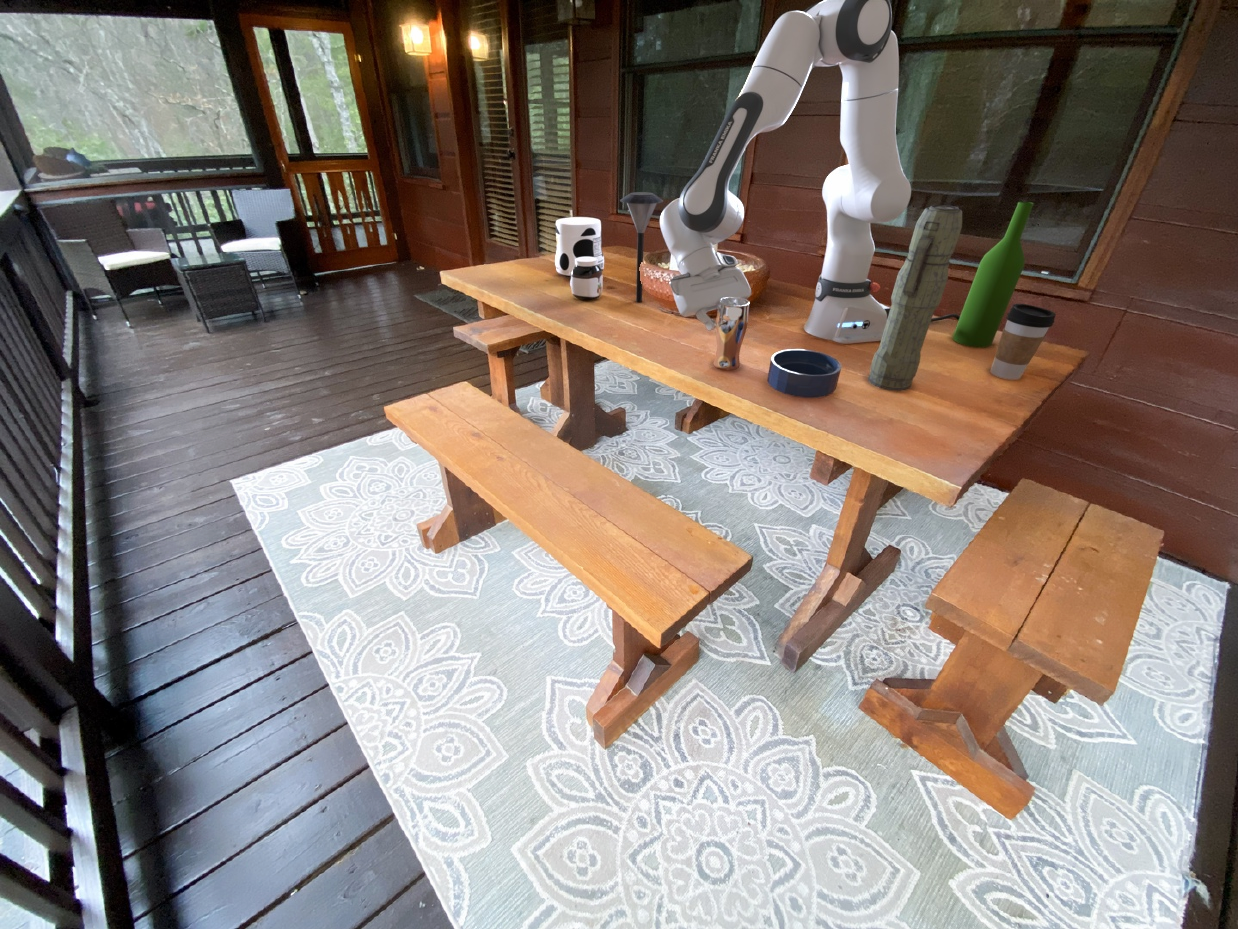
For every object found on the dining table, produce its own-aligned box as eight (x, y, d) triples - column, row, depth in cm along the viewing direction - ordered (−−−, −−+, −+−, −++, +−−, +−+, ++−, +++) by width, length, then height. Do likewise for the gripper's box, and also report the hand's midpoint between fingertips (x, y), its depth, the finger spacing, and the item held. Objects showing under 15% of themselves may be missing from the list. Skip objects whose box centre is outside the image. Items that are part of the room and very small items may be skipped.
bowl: (821, 371, 121) (826, 348, 118) (845, 400, 109) (852, 375, 106) (759, 372, 121) (763, 349, 117) (777, 400, 109) (782, 376, 106)
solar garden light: (666, 303, 163) (672, 194, 146) (632, 309, 157) (634, 197, 141) (645, 293, 171) (648, 189, 155) (612, 298, 166) (611, 192, 150)
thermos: (859, 385, 115) (910, 208, 95) (876, 368, 122) (926, 201, 103) (902, 397, 110) (965, 213, 91) (917, 379, 118) (977, 205, 98)
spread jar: (588, 303, 162) (587, 264, 156) (558, 297, 167) (556, 259, 161) (609, 294, 171) (609, 256, 164) (580, 288, 176) (579, 251, 169)
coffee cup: (987, 363, 125) (1014, 300, 117) (1029, 373, 121) (1060, 307, 112) (980, 375, 120) (1008, 309, 111) (1024, 385, 115) (1056, 317, 107)
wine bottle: (985, 337, 140) (1041, 200, 122) (995, 349, 133) (1056, 206, 115) (948, 333, 142) (997, 198, 124) (956, 345, 135) (1010, 204, 117)
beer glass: (741, 373, 120) (750, 307, 112) (710, 370, 121) (717, 305, 113) (741, 361, 126) (750, 297, 117) (712, 358, 127) (718, 295, 119)
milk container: (554, 270, 195) (550, 217, 185) (600, 268, 198) (599, 215, 188) (558, 283, 181) (554, 226, 171) (608, 280, 184) (607, 224, 174)
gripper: (674, 268, 112) (702, 326, 111) (740, 255, 122) (766, 308, 121) (659, 285, 117) (686, 340, 116) (724, 271, 128) (749, 322, 127)
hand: (727, 324), depth 119 cm, fingers open, 8 cm apart
